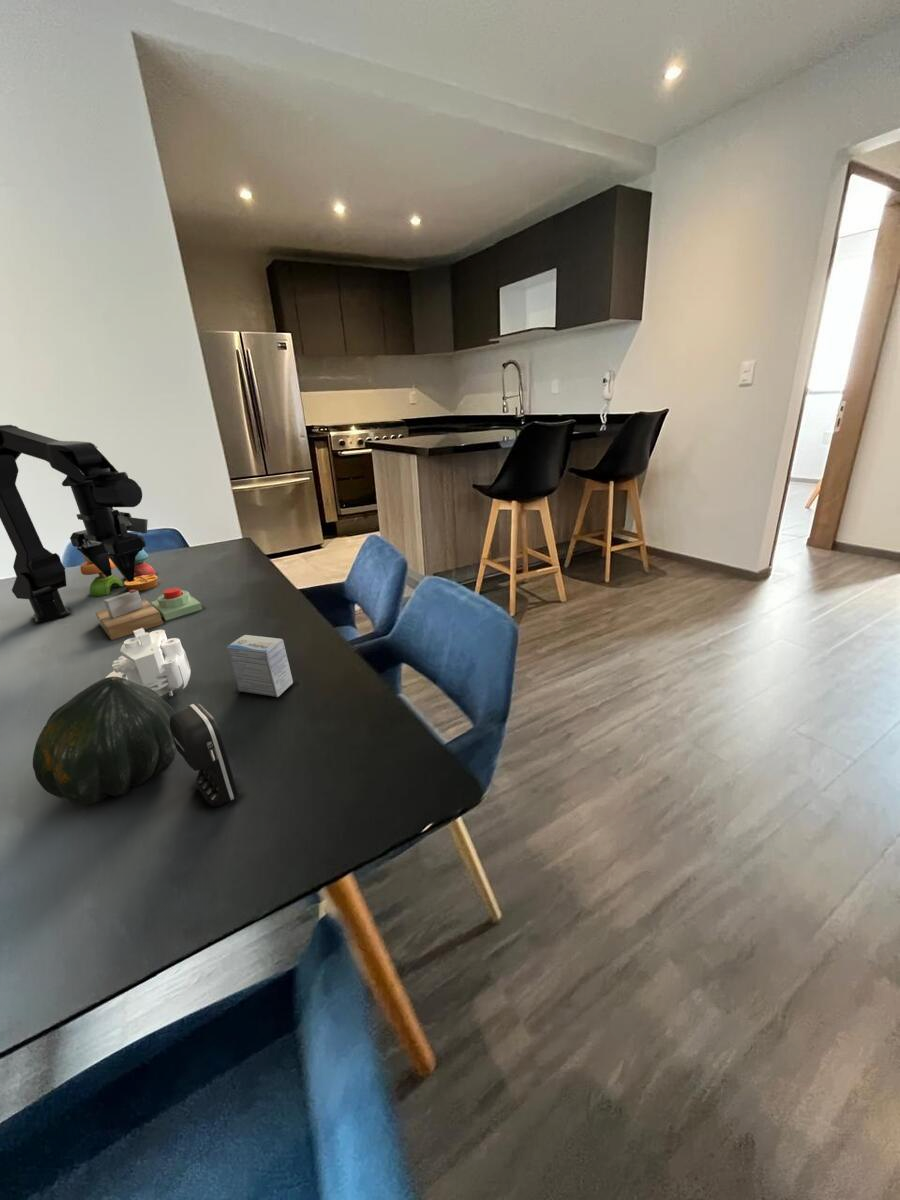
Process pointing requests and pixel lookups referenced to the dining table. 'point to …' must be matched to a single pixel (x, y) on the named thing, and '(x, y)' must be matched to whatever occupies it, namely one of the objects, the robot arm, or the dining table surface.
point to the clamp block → (129, 621)
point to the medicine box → (260, 665)
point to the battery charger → (204, 753)
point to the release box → (176, 605)
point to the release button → (172, 593)
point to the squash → (104, 742)
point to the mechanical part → (153, 662)
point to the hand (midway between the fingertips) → (119, 578)
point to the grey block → (123, 603)
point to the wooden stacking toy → (103, 583)
